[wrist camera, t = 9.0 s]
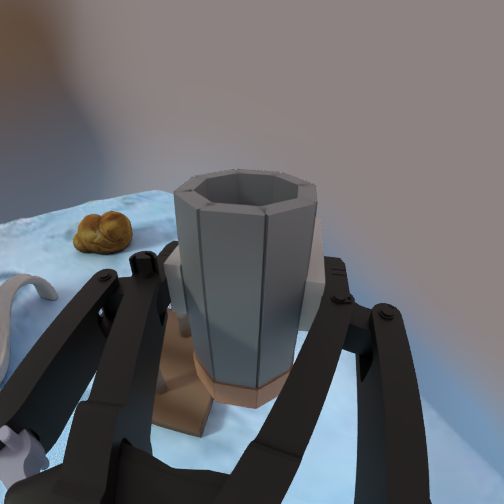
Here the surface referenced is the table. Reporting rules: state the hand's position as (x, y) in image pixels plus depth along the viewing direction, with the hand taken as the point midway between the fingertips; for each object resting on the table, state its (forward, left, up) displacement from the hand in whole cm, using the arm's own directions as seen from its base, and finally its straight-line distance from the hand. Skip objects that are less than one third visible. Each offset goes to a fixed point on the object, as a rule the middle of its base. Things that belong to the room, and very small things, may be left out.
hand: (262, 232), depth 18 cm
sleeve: (-5, 0, -7) cm, 8 cm away
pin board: (+1, +9, -18) cm, 20 cm away
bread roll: (+24, +34, -18) cm, 45 cm away
